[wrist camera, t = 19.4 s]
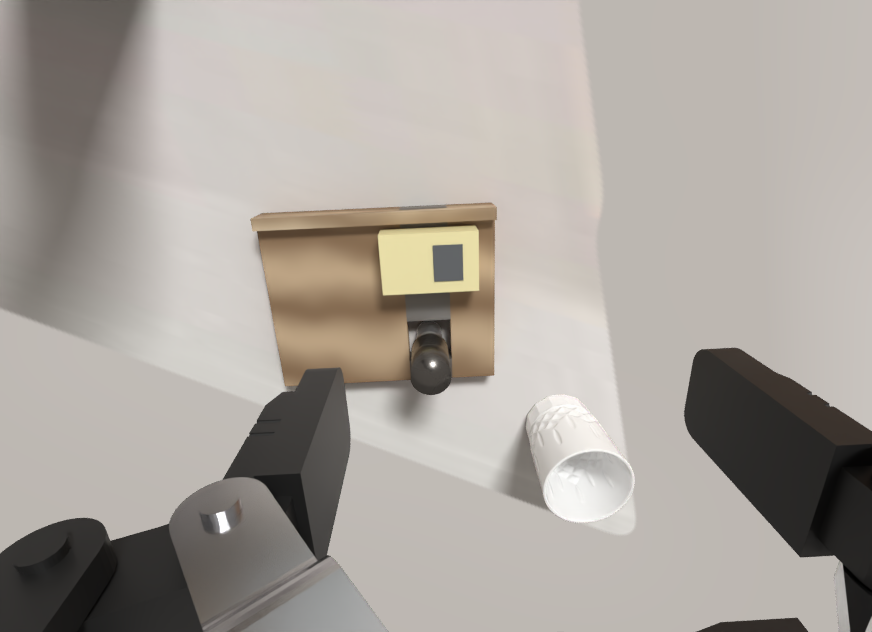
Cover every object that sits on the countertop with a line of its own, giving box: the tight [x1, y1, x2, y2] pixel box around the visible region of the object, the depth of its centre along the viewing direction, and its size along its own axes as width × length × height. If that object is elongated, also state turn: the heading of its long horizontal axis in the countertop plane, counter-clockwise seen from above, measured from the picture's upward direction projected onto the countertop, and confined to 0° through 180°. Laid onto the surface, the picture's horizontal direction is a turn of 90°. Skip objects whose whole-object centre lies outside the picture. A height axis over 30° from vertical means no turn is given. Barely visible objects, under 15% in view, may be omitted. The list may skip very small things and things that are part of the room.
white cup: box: [526, 394, 635, 523], centre depth 44 cm, size 8×8×10 cm
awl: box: [411, 321, 451, 395], centre depth 41 cm, size 3×3×9 cm
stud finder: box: [378, 225, 479, 295], centre depth 39 cm, size 5×8×3 cm, turn 93°
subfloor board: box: [251, 203, 497, 386], centre depth 42 cm, size 16×20×3 cm
